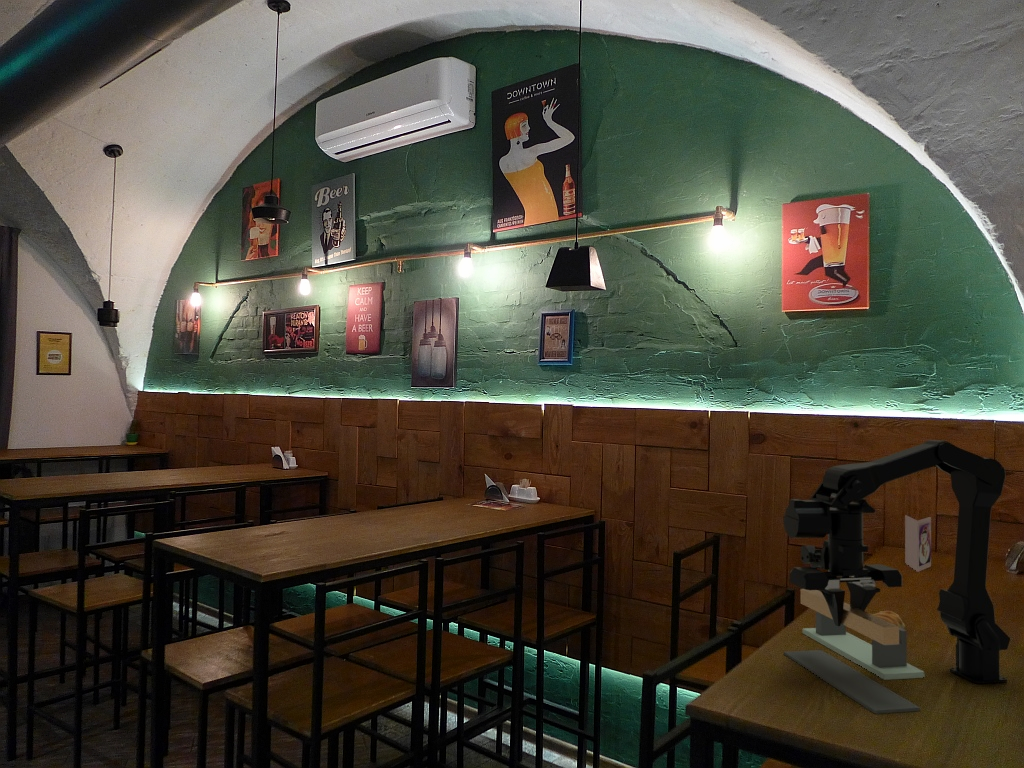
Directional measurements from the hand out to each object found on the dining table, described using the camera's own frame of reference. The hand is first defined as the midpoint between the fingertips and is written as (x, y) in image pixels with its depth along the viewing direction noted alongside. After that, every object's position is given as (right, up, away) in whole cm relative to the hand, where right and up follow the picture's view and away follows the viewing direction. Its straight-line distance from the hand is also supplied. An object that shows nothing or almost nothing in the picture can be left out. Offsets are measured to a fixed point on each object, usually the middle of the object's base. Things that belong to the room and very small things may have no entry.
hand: (845, 625), depth 129 cm
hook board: (+9, -10, +13) cm, 19 cm away
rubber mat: (0, -10, 0) cm, 10 cm away
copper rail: (0, +1, 0) cm, 1 cm away
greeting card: (+62, -13, +89) cm, 109 cm away
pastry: (+22, -11, +28) cm, 37 cm away
